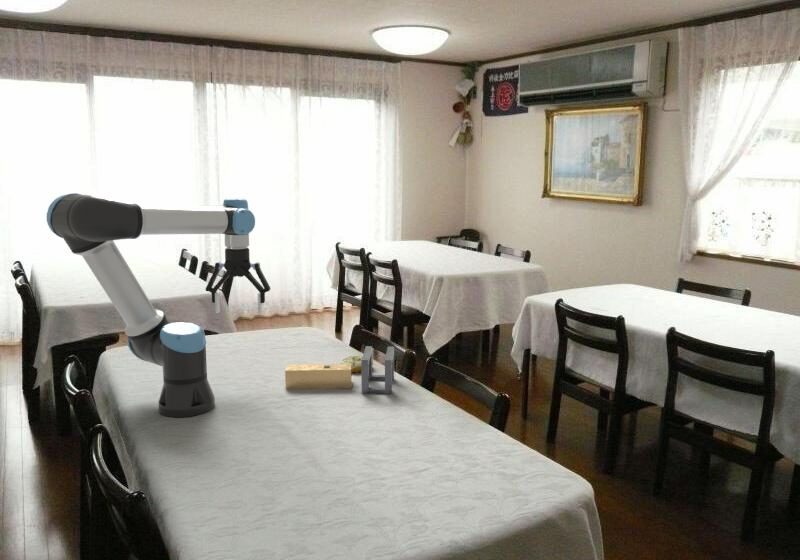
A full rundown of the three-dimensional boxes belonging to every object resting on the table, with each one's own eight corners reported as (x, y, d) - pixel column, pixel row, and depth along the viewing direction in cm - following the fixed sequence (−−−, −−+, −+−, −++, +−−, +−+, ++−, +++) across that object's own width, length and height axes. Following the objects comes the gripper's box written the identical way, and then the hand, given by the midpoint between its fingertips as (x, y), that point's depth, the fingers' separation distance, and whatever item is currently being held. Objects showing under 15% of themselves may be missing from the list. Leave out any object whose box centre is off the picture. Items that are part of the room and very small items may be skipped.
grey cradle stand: (391, 394, 195) (391, 360, 193) (361, 393, 196) (361, 359, 194) (393, 378, 209) (394, 346, 208) (366, 377, 210) (365, 346, 208)
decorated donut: (334, 368, 220) (334, 357, 220) (360, 362, 227) (360, 351, 226) (352, 376, 212) (352, 364, 212) (378, 369, 219) (378, 358, 218)
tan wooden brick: (285, 389, 200) (285, 370, 199) (287, 382, 206) (287, 364, 205) (351, 388, 201) (350, 369, 200) (351, 381, 207) (351, 363, 206)
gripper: (278, 246, 211) (279, 310, 215) (200, 245, 211) (203, 310, 214) (274, 249, 204) (275, 315, 207) (194, 248, 203) (196, 314, 207)
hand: (238, 312), depth 211 cm, fingers open, 13 cm apart
